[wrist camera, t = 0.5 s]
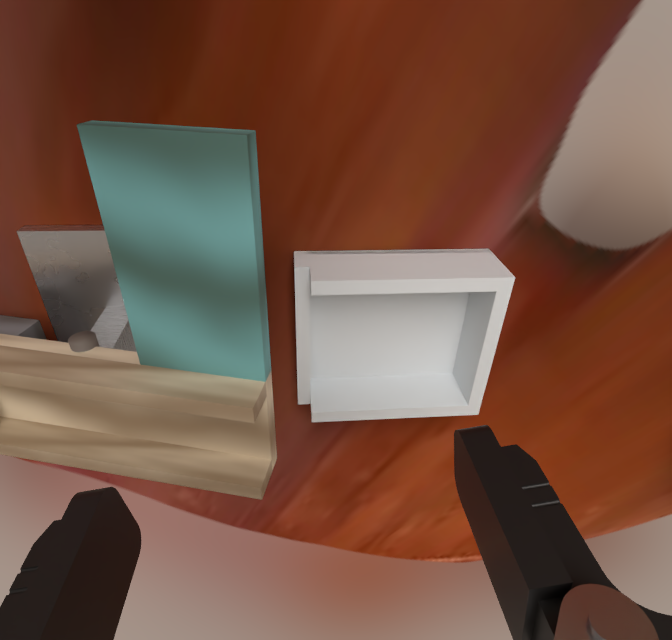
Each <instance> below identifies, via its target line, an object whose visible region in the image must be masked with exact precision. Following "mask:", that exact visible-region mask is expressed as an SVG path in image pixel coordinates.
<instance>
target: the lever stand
mask: <svg viewBox="0 0 672 640" xmlns="http://www.w3.org/2000/svg"><path fill="white" fill-rule="evenodd" d="M17 234H18V236H19V239H20V241H21V244H22V247H23V249H24V252H25V255H26V257H27V260H28V263H29V265H30V268H31V271H32V273H33V276H34V279H35V281H36V284H37V287H38V289H39V292H40V295H41V297H42V300H43V303H44V305H45V308H46V311H47V313H48V316H49V318H50V321H51V324H52V326H53V329H54V332H55V334H56V337H57V340H58V341H59V342H66V343H68V339H69V337H70V336H72V335H73V334H75V333H78V332H81V331H92V332H94V333H95V334H96V337H97V340H98V343H99V346H100V347H104V348H111V349H119V350H126V351H134V352H137V350H136V347H135V343H134V339H133V335H132V332H131V328H130V324H129V320H128V316H127V313H126V309H125V305H124V301H123V298H122V294H121V290H120V286H119V282H118V279H117V275H116V271H115V267H114V264H113V260H112V256H111V252H110V248H109V245H108V241H107V237H106V233H105V230H104V226H103V225H25V226H23V227H22V228H21V229H19V230H18V231H17Z"/></svg>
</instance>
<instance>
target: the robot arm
mask: <svg viewBox="0 0 672 640" xmlns="http://www.w3.org/2000/svg"><path fill="white" fill-rule="evenodd" d="M454 467H455V481H456V486H457V490H458V494H459V497H460V500H461V503H462V506H463V508H464V511H465V514H466V516H467V519H468V522H469V524H470V527H471V529H472V532H473V535H474V537H475V540H476V543H477V545H478V548H479V550H480V553H481V556H482V558H483V561H484V564H485V566H486V569H487V572H488V574H489V577H490V579H491V582H492V585H493V587H494V590H495V593H496V595H497V598H498V601H499V603H500V606H501V608H502V611H503V613H504V616H505V619H506V622H507V624H508V627H509V630H510V632H511V635H512V637H513V640H672V616H670V615H665V614H661V613H657V612H654V611H652V610H649V609H647V608H644V607H642V606H641V605H639V604H637V603H635V602H634V601H632V600H631V599H630V598H628V597H627V596H625V595H624V594H622V593H621V592H620V591H619V590H618V589H617V588H616V587H615V586H614V585H613V584H612V583H611V582H610V580H609V579H608V578H607V577H606V575H605V574H604V572H603V571H602V569H601V567H600V566H599V564H598V562H597V561H596V559H595V558H594V556H593V555H592V553H591V551H590V549H589V548H588V546H587V544H586V543H585V541H584V539H583V538H582V536H581V534H580V533H579V531H578V529H577V528H576V526H575V524H574V523H573V521H572V519H571V518H570V516H569V514H568V513H567V511H566V509H565V508H564V506H563V504H561V503H560V501H559V498H558V496H557V494H556V493H555V491H554V490H553V488H552V486H550V485H549V481H548V480H547V478H546V476H545V475H544V473H543V471H542V470H541V468H540V466H539V465H538V463H537V461H536V460H535V459H533V458H532V457H531V456H530V455H529V454H527V453H526V452H525V451H524V450H522V449H521V448H520V447H519V446H518V445H510V446H504V447H500V445H499V443H498V441H497V439H496V437H495V435H494V434H493V432H492V430H491V428H490V427H489V426H488V425H483V426H477V427H472V428H466V429H460V430H455V433H454ZM140 549H141V532H140V528H139V526H138V524H137V522H136V520H135V519H134V517H133V516H132V514H131V512H130V510H129V509H128V507H127V506H126V504H125V503H124V501H123V499H122V497H121V496H120V494H119V492H118V491H117V490H116V489H115V488H113V487H108V488H102V489H96V490H91V491H84V492H79V493H77V494H76V495H74V497H73V498H72V499H71V501H70V503H69V505H68V508H67V509H66V511H65V513H64V515H63V517H62V519H61V520H57V521H54V522H53V523H52V524H51V525H50V526H49V527H48V529H46V531H45V532H44V533H43V534H42V535H41V536H40V537H39V538H38V540H37V541H36V542H35V543H34V544H33V546H32V548H31V550H30V552H29V554H28V556H27V558H26V559H25V561H24V563H23V565H22V567H21V573H20V574H18V575H17V576H16V578H15V581H14V582H13V584H12V586H11V588H10V594H9V595H6V597H5V599H4V601H3V603H2V605H1V607H0V640H113V639H114V636H115V632H116V629H117V626H118V623H119V619H120V616H121V613H122V609H123V606H124V603H125V600H126V596H127V593H128V590H129V587H130V583H131V580H132V576H133V573H134V570H135V567H136V564H137V560H138V557H139V554H140Z"/></svg>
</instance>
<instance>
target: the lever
mask: <svg viewBox="0 0 672 640" xmlns="http://www.w3.org/2000/svg"><path fill="white" fill-rule="evenodd" d="M77 128H78V132H79V135H80V139H81V143H82V147H83V150H84V154H85V158H86V162H87V165H88V169H89V173H90V177H91V181H92V184H93V188H94V192H95V196H96V199H97V203H98V207H99V211H100V215H101V218H102V222H103V226H104V230H105V233H106V237H107V241H108V245H109V248H110V252H111V256H112V260H113V264H114V267H115V271H116V275H117V279H118V282H119V286H120V290H121V294H122V298H123V301H124V305H125V309H126V313H127V316H128V320H129V324H130V328H131V332H132V335H133V339H134V343H135V347H136V350H137V352H134V351H126V350H119V349H111V348H104V347H100V346H99V343H98V340H97V337H96V334H95V333H94V332H92V331H81V332H78V333H75V334H73V335H72V336H70V337H69V339H68V343H66V342H59V341H51V340H47V339H46V337H45V334H44V331H43V329H42V326H41V324H40V321H39V320H35V319H27V318H19V317H11V316H3V315H0V454H1V455H7V456H13V457H19V458H24V459H30V460H36V461H42V462H47V463H53V464H59V465H65V466H71V467H76V468H82V469H88V470H94V471H99V472H105V473H111V474H117V475H122V476H128V477H134V478H140V479H145V480H151V481H157V482H163V483H169V484H174V485H180V486H186V487H192V488H197V489H203V490H209V491H215V492H220V493H226V494H232V495H238V496H243V497H249V498H255V499H261V500H262V499H263V496H264V493H265V490H266V488H267V485H268V482H269V479H270V476H271V474H272V471H273V468H274V465H275V463H276V460H277V449H276V434H275V419H274V404H273V389H272V374H271V358H270V343H269V328H268V313H267V298H266V283H265V267H264V252H263V237H262V222H261V207H260V192H259V177H258V161H257V146H256V131H255V130H240V129H224V128H207V127H191V126H175V125H158V124H142V123H126V122H109V121H93V120H92V121H88V122H84V123H80V124H77Z"/></svg>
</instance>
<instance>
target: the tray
mask: <svg viewBox="0 0 672 640" xmlns="http://www.w3.org/2000/svg"><path fill="white" fill-rule="evenodd" d="M294 273H295V311H296V349H297V387H298V404H311V419H312V422H330V421H352V420H373V419H395V418H416V417H438V416H459V415H478V413H479V410H480V406H481V402H482V398H483V395H484V391H485V387H486V384H487V380H488V376H489V373H490V369H491V365H492V361H493V358H494V354H495V350H496V347H497V343H498V339H499V336H500V332H501V328H502V324H503V321H504V317H505V313H506V310H507V306H508V302H509V299H510V295H511V291H512V287H513V284H514V280H515V277H514V276H513V274H512V273H511V272H510V271H509V270H508V269H507V268H506V267H505V266H504V265H503V264H502V263H501V262H500V260H499V259H498V258H497V257H496V256H495V255H494V254H493V253H492V252H491V251H490V250H489V249H434V250H353V251H294Z"/></svg>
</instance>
